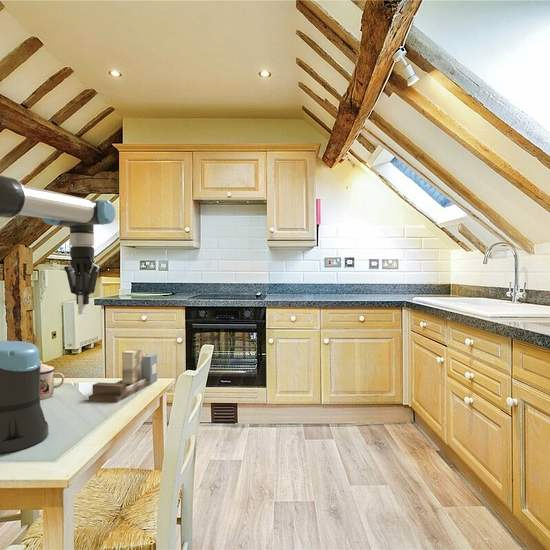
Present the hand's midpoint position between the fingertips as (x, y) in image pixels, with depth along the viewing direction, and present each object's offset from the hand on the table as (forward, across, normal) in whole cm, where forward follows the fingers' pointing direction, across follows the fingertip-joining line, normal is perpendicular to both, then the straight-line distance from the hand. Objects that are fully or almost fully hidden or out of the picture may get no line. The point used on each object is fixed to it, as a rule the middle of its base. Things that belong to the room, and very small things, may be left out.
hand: (82, 313), depth 140 cm
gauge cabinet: (+26, -15, -12) cm, 33 cm away
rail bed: (+26, -15, -2) cm, 30 cm away
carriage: (+25, -15, -6) cm, 29 cm away
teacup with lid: (+27, +8, +9) cm, 29 cm away
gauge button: (+20, -15, -13) cm, 28 cm away
